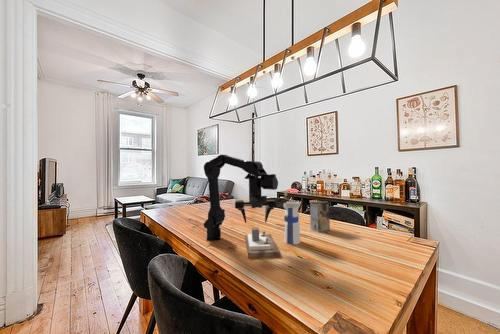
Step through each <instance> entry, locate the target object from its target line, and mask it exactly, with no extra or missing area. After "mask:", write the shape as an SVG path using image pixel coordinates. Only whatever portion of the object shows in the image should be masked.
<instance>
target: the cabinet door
mask: <svg viewBox="0 0 500 334" xmlns="http://www.w3.org/2000/svg"><path fill="white" fill-rule="evenodd" d="M247 235H248V243H249V248H250V250H264V249H271V245H270V244H269V240H268V244H266V238H267V237H266V233H265V237H263V233H260V229H259V227H251V233H248V234H247Z"/></svg>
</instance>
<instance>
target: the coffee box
mask: <svg viewBox="0 0 500 334" xmlns="http://www.w3.org/2000/svg"><path fill="white" fill-rule="evenodd" d="M309 210H310V211H309V213H310V215H309V217H310V223H309V224H310V231H314V232H316V233H321V232H322V233H323V232H326V231H330V230H331V227H330V225H331V222H330V221H331V220H330V215H331V214H330V202H329V201H324V200H317V201H316V200H315V201H310V202H309Z"/></svg>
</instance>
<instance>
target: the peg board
mask: <svg viewBox="0 0 500 334" xmlns="http://www.w3.org/2000/svg"><path fill="white" fill-rule="evenodd" d="M262 234H263V237H265V234H266V231H265V230H264V231H262ZM266 237H267V238H266V244H268V240H269V244H270V245H271V249H264V250H250V248H249V243H248V234H245V237H244V238H245V244H246V245H245V246H246V254H247V258H248V259H251V258H255V259H256V258H257V259H258V258H277V257H278V258H279V257H280V255H281V254H280V250H279V247H277V244H276V242H275V240H274V238H273V236H272V234H270V233H269V234H268V233H267V234H266Z"/></svg>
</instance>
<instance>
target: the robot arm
mask: <svg viewBox="0 0 500 334" xmlns="http://www.w3.org/2000/svg"><path fill="white" fill-rule="evenodd" d="M225 165H230V166H232V167H237V168H239V169H241V170H243V171H244V172H246V173H247V174H246V176H245V177H244V179H246V180H248V201H244V200H235V201H234V208H235V209H237V210H238V211H240V212H241V215H242V217H243V220H244V223H245V224H247V216H246V210H245V207H251V208H252V209H257V208H259V209H261V208H263V206H264V207H265V214H264V222H265V223H267V221H268V218H269V216H270V213H271V211H272V210H274V208H277V207H278V206H277V202H276V200H275V199H268V197H267V195H262V189H263V190H271V191H272V190H275V191H276V190H277V189H278V186H279V181H278V178H277V175H276V173H271V174H268V173H267V171H266V170H265V168H264V166H263V163H262V162H261V161H257V160H256V161H255V160H253V161H252V160H245V159H242V158H241V159H240V158H237V157H234V156H229V155H228V154H219V155H217V156H216V157H214V158H213V159H211V160H209V161H207V162H204V164H203V171H204V175H205V177H206V178H207V182H208V194H209V195H208V196H209V203H210V204H209V206H210V208H209V210H208V213H207V219H206V220H205V222H204V223H203V227H204V229H206V238H205V239H206V241H220V239H221V237H222V232H221V230H222V228H221V227H220V226H222V225H223V223H224V221H225V218H226V215H225V211H226V210H225V209H224V208H222V207H221V201H220V199H221V198H220V189H219V188H220V187H219V177H220V175H221V169H222V168H223V167H224V166H225Z"/></svg>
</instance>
